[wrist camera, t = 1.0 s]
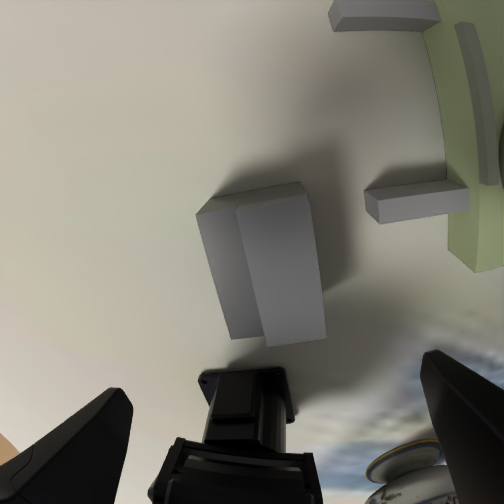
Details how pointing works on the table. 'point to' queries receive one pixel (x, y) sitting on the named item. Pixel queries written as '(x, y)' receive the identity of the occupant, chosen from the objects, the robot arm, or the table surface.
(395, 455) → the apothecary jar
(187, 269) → the table surface
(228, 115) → the table surface
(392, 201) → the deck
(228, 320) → the grey stepped block
